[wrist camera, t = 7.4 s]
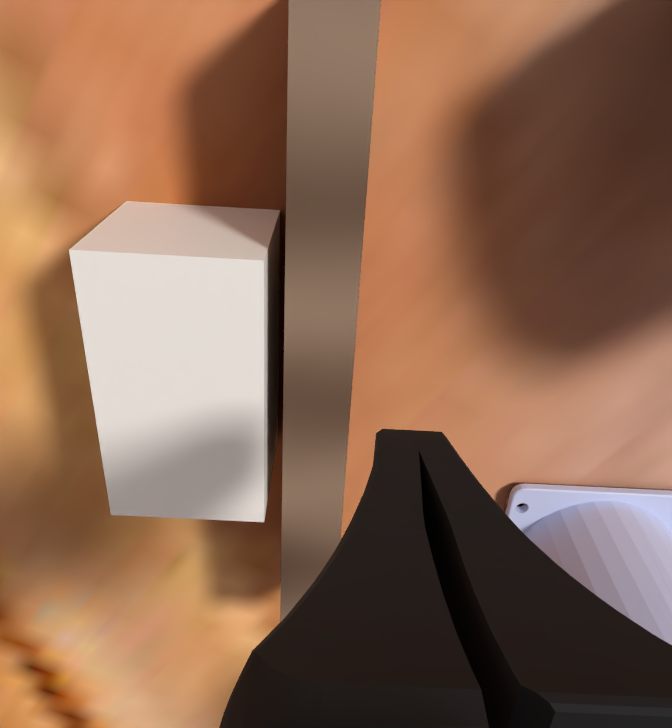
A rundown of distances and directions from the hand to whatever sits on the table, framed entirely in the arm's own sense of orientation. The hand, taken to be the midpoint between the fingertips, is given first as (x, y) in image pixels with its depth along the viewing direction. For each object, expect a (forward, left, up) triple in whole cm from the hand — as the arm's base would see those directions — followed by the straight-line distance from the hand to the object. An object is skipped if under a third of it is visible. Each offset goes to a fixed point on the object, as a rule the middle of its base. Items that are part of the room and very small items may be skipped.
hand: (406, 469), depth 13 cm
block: (-2, +6, -10) cm, 12 cm away
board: (-2, +2, -10) cm, 10 cm away
